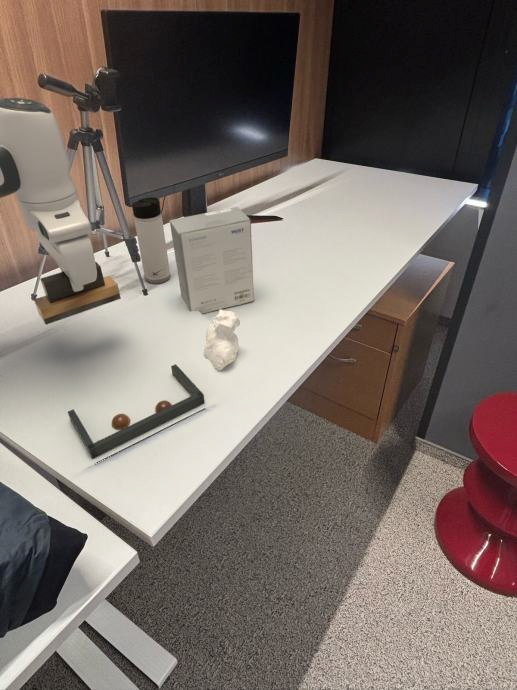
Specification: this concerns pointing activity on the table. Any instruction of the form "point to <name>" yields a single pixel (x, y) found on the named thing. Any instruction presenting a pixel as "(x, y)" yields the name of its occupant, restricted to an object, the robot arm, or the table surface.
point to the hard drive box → (214, 259)
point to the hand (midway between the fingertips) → (74, 285)
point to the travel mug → (151, 240)
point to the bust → (222, 339)
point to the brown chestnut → (120, 421)
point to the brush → (74, 296)
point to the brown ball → (162, 405)
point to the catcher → (145, 424)
